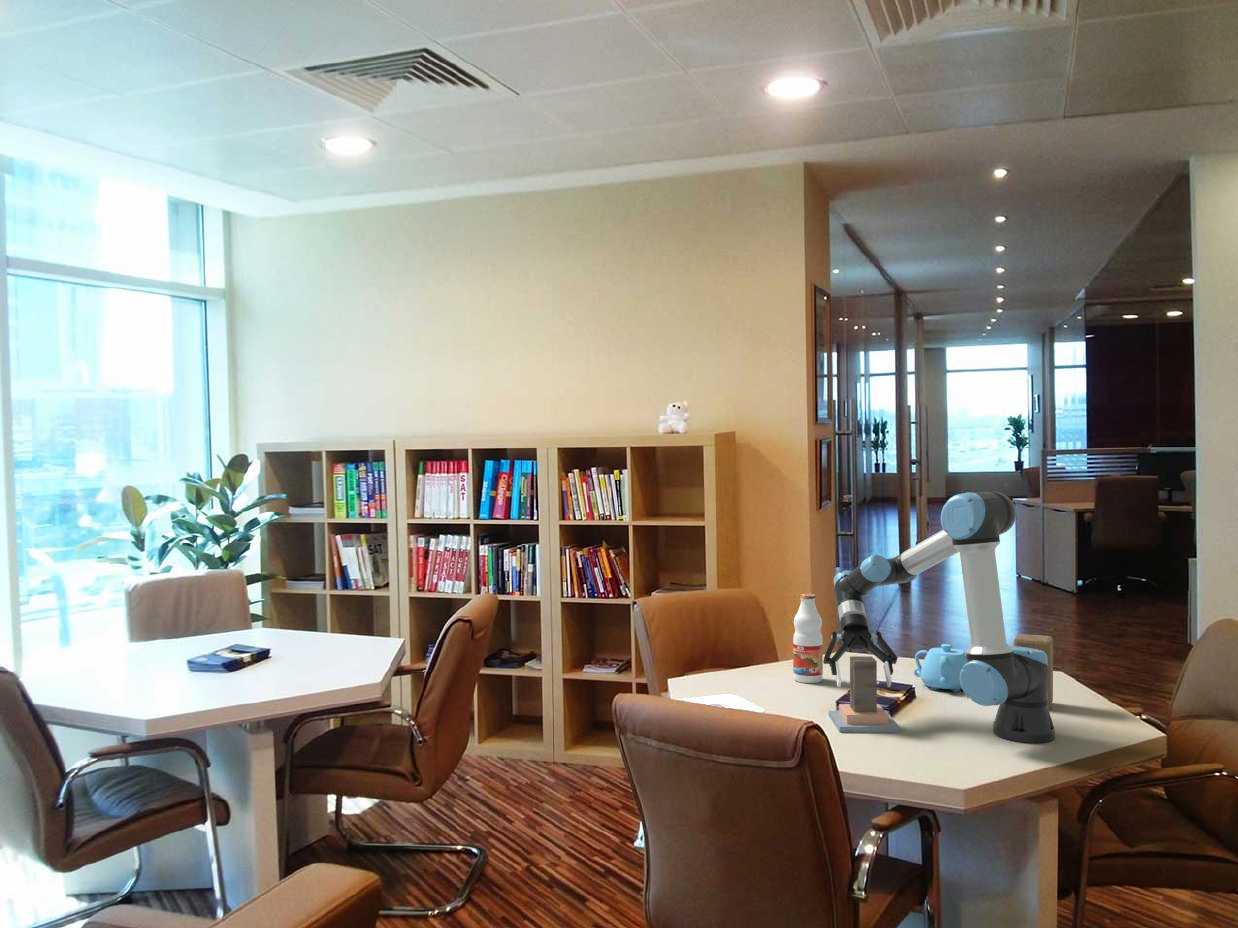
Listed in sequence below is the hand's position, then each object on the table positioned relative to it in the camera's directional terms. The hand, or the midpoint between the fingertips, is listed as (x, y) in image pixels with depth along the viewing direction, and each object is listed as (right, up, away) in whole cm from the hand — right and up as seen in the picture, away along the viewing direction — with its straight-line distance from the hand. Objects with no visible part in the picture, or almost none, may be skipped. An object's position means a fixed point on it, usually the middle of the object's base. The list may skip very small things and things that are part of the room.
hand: (864, 684), depth 272 cm
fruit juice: (-6, -10, +52) cm, 54 cm away
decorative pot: (+36, -10, +42) cm, 56 cm away
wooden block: (+54, -11, +20) cm, 59 cm away
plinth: (0, -11, +2) cm, 12 cm away
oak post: (0, -7, +2) cm, 8 cm away
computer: (-39, -12, +14) cm, 43 cm away
